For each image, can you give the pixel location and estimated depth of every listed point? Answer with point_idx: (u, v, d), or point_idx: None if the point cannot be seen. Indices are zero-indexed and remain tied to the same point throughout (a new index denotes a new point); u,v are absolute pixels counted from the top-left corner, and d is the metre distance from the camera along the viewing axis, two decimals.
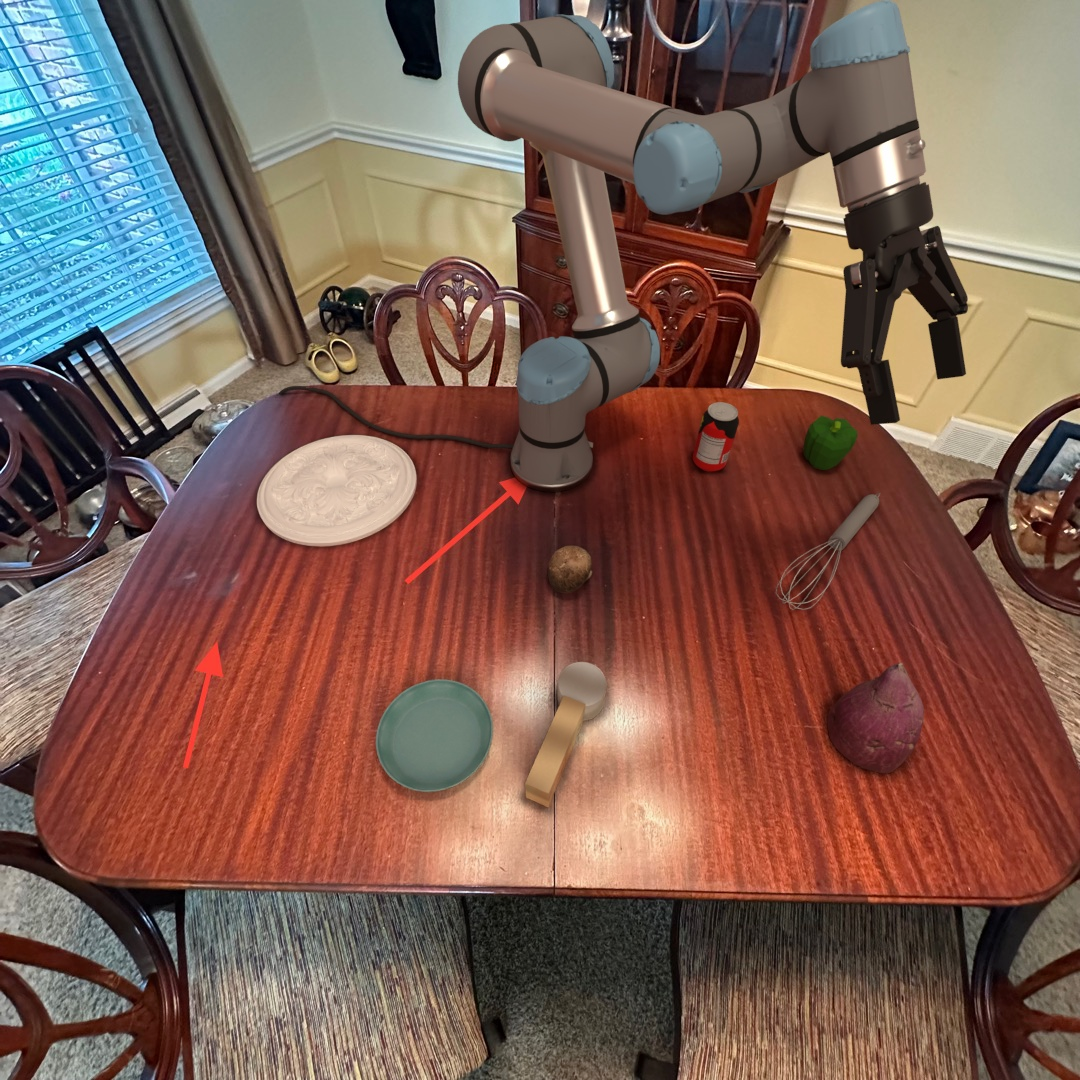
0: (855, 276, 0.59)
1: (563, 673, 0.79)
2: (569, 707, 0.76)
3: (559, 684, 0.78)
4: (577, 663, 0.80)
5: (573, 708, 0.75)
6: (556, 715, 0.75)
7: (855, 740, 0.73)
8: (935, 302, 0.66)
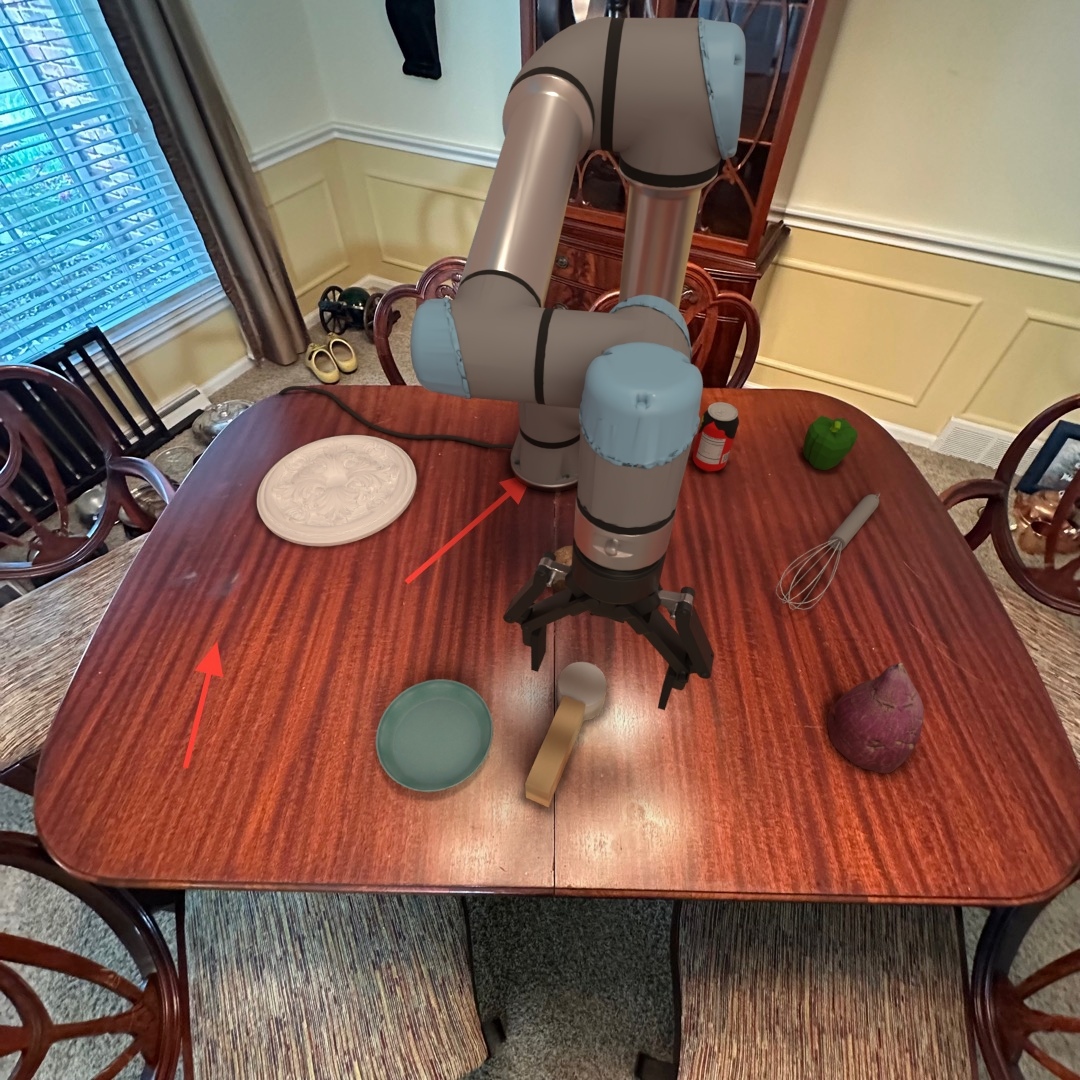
0: None
1: (563, 673, 0.79)
2: (569, 707, 0.76)
3: (559, 684, 0.78)
4: (577, 663, 0.80)
5: (573, 708, 0.75)
6: (556, 715, 0.75)
7: (855, 740, 0.73)
8: None
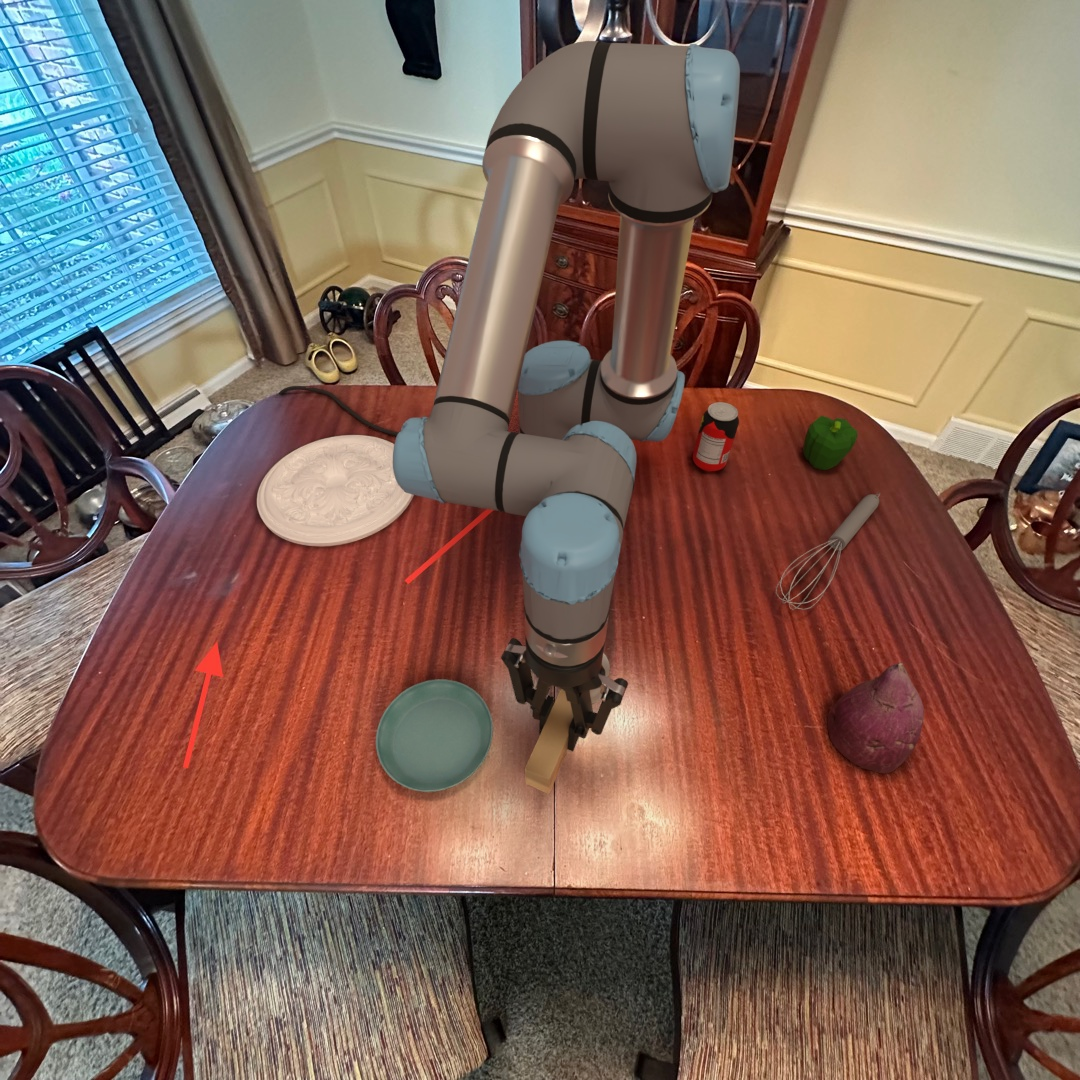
0: None
1: None
2: None
3: None
4: None
5: None
6: (557, 699, 0.72)
7: (855, 740, 0.73)
8: None
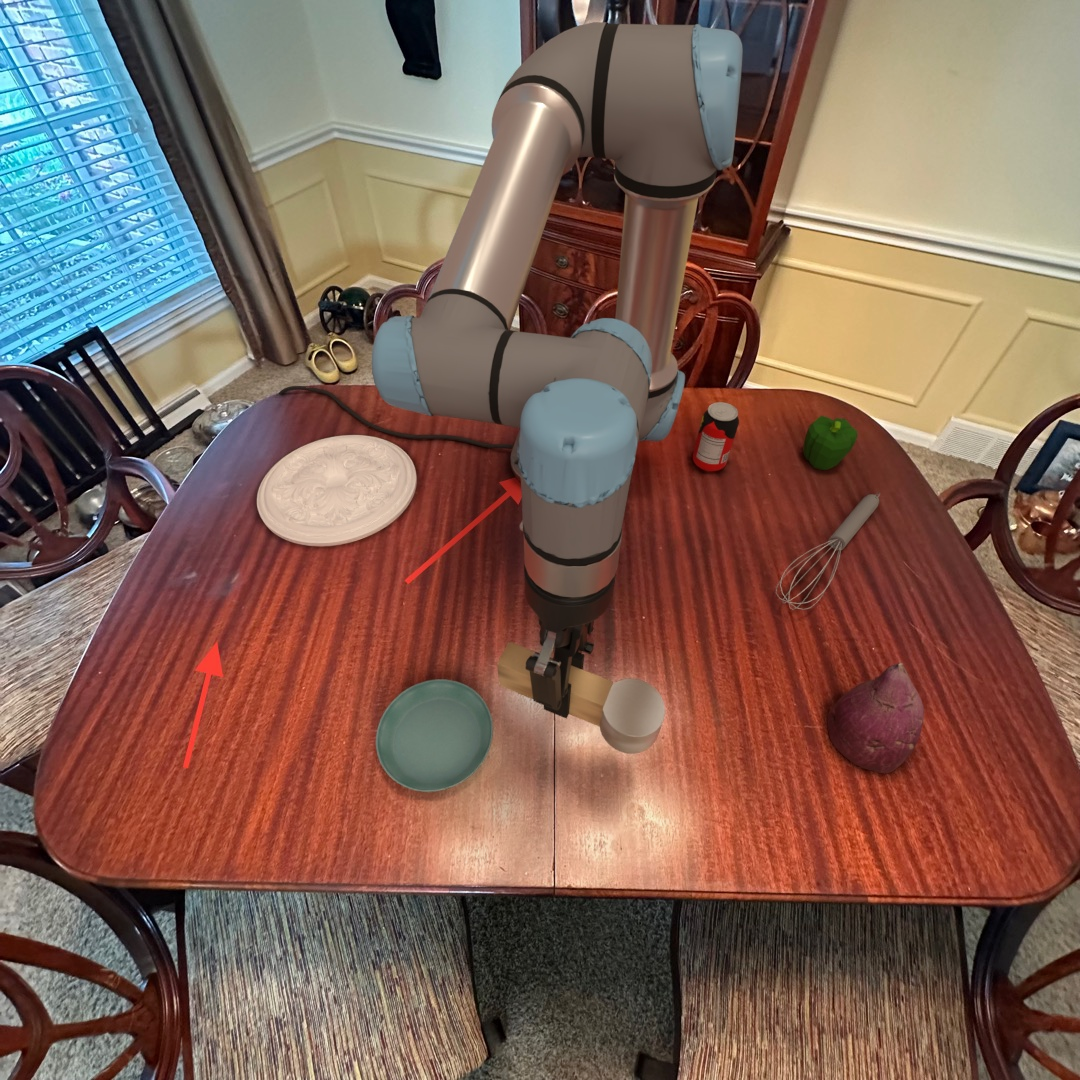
0: None
1: (645, 684, 0.63)
2: (597, 687, 0.62)
3: (629, 679, 0.63)
4: (661, 701, 0.62)
5: (596, 691, 0.62)
6: (586, 672, 0.63)
7: (855, 740, 0.73)
8: None
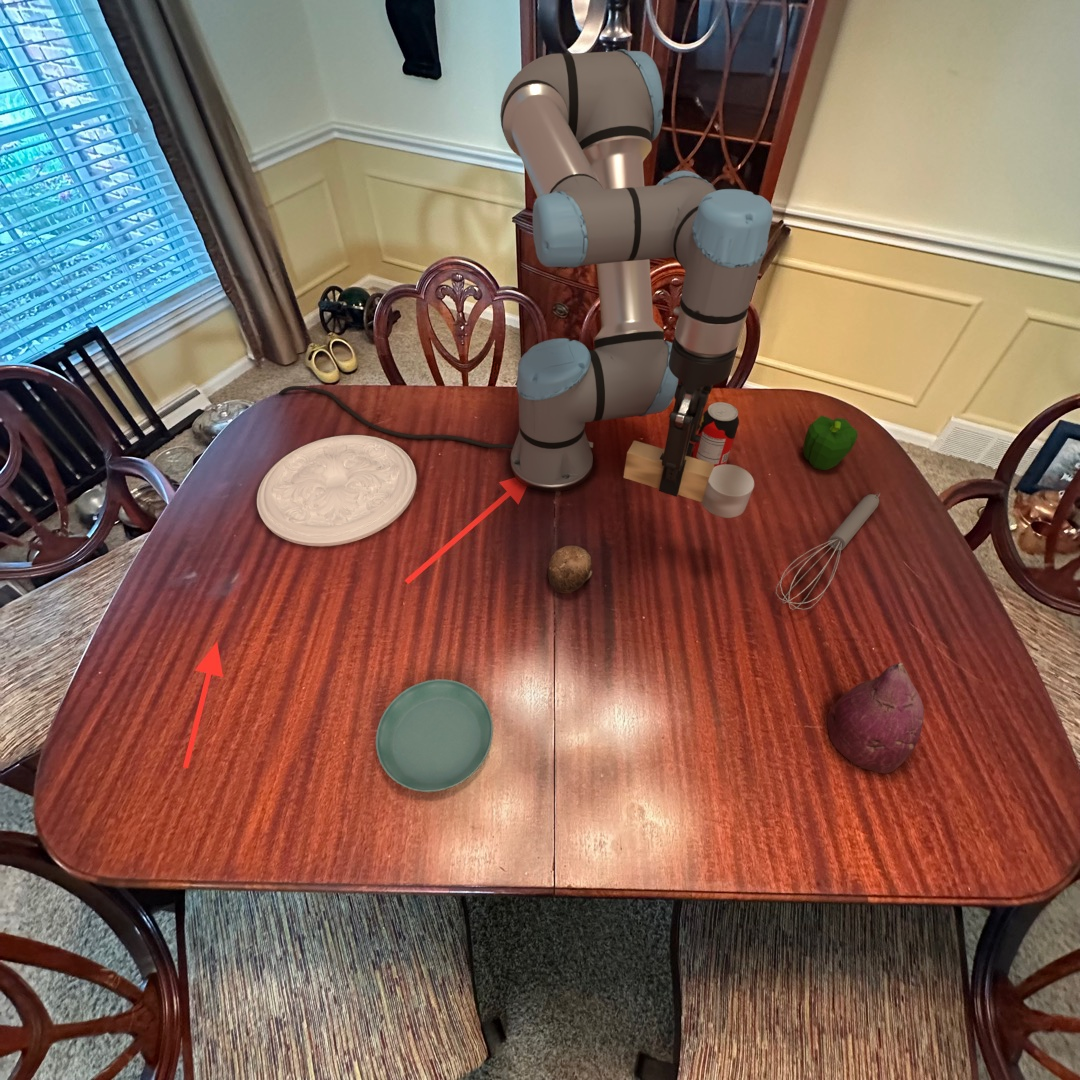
0: None
1: (737, 467, 0.85)
2: (703, 466, 0.84)
3: (726, 465, 0.85)
4: (751, 477, 0.84)
5: (702, 469, 0.84)
6: (694, 458, 0.85)
7: (855, 740, 0.73)
8: None
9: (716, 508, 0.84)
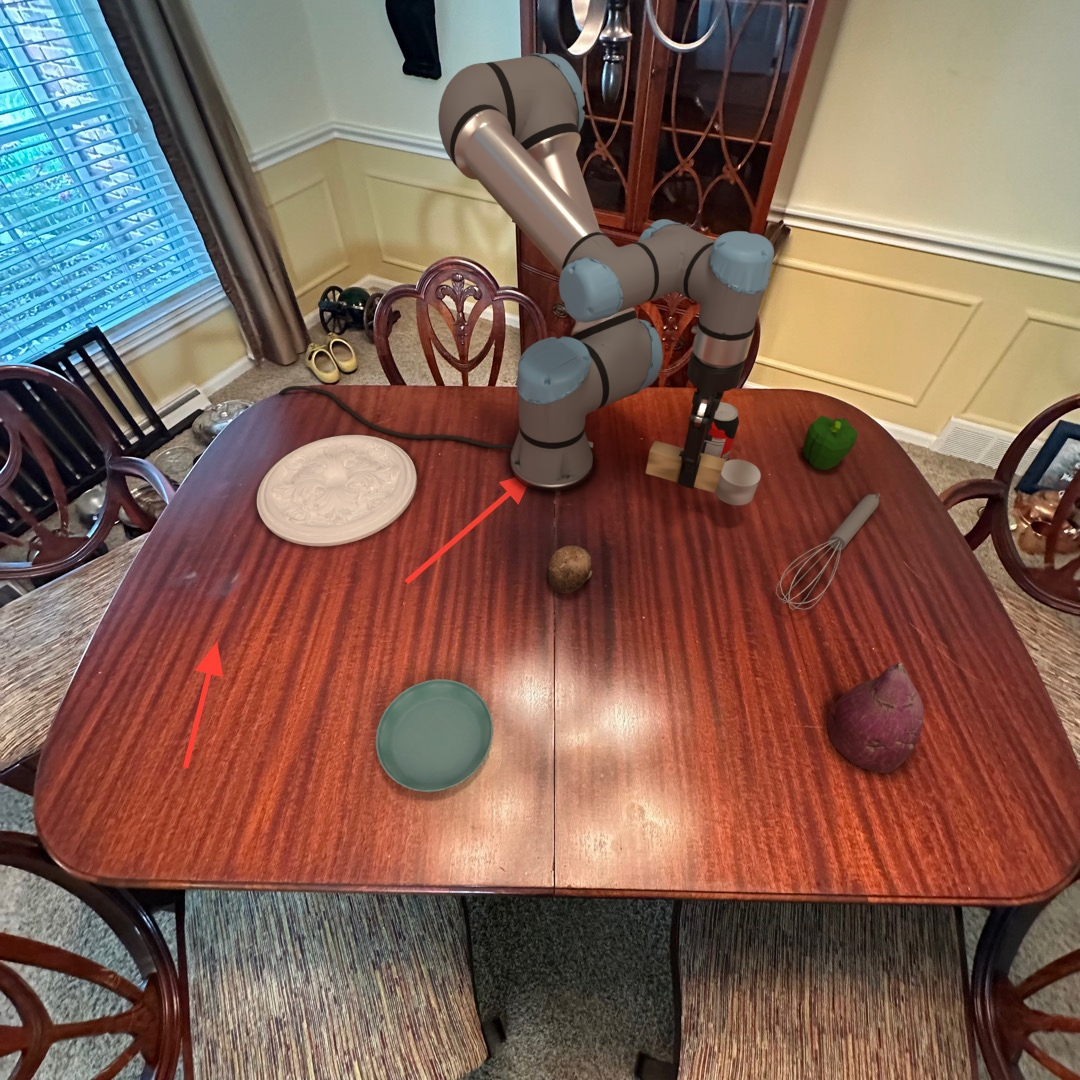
0: None
1: (745, 462, 0.98)
2: (716, 461, 0.97)
3: (735, 460, 0.99)
4: (757, 470, 0.97)
5: (715, 463, 0.97)
6: (707, 455, 0.98)
7: (855, 740, 0.73)
8: None
9: (728, 497, 0.97)
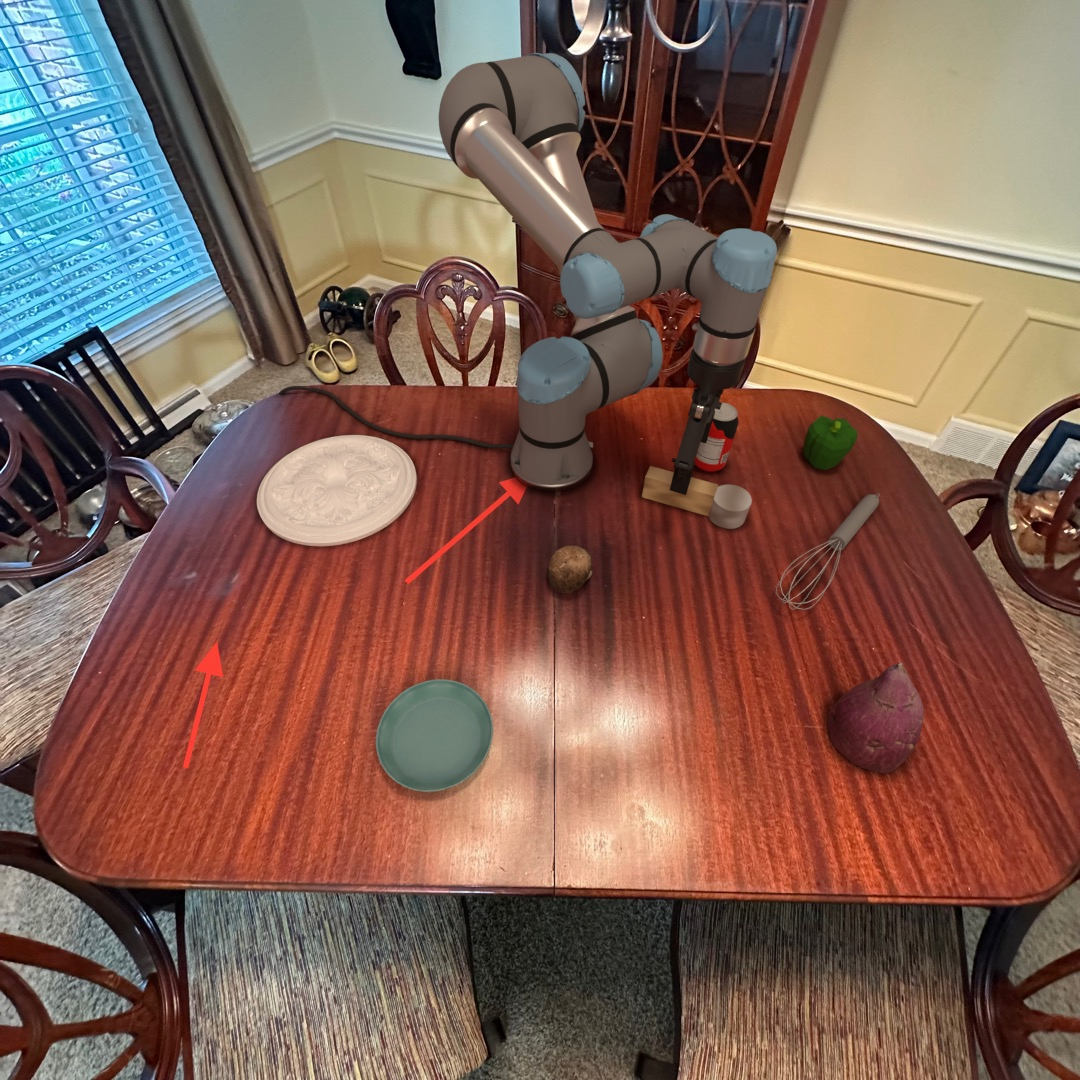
0: None
1: (737, 487, 1.02)
2: (709, 487, 1.02)
3: (727, 485, 1.03)
4: (749, 495, 1.01)
5: (708, 489, 1.01)
6: (701, 480, 1.03)
7: (855, 740, 0.73)
8: None
9: (721, 521, 1.01)
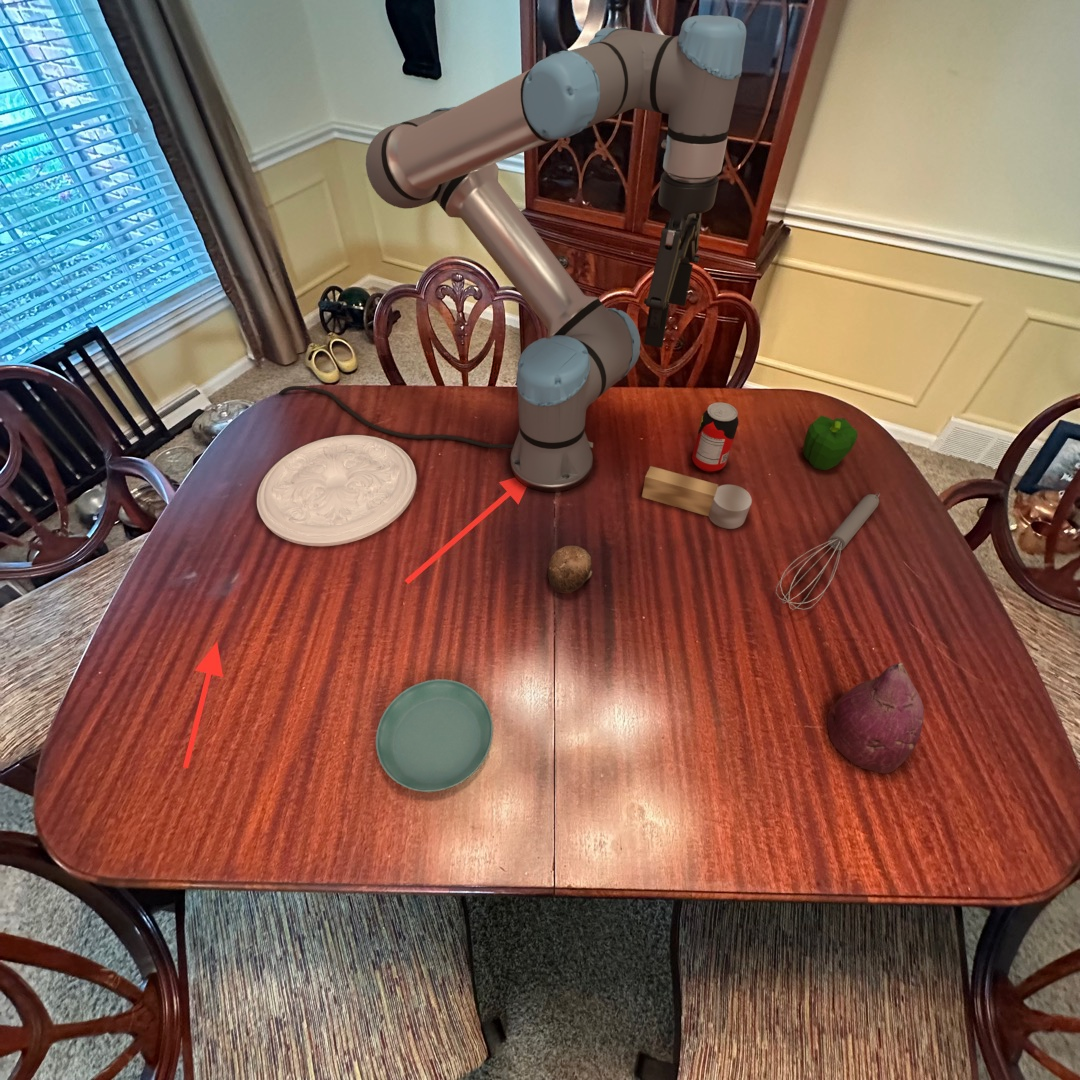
0: None
1: (737, 487, 1.02)
2: (709, 487, 1.02)
3: (727, 485, 1.03)
4: (749, 495, 1.01)
5: (708, 489, 1.01)
6: (701, 480, 1.03)
7: (855, 740, 0.73)
8: None
9: (721, 521, 1.01)
